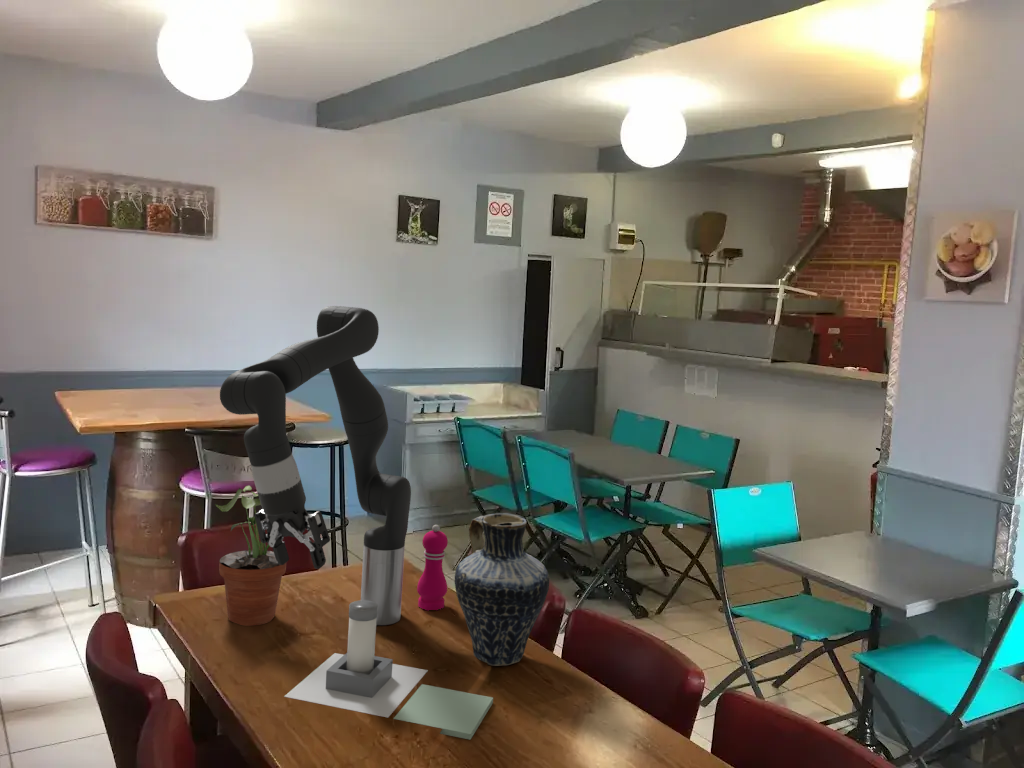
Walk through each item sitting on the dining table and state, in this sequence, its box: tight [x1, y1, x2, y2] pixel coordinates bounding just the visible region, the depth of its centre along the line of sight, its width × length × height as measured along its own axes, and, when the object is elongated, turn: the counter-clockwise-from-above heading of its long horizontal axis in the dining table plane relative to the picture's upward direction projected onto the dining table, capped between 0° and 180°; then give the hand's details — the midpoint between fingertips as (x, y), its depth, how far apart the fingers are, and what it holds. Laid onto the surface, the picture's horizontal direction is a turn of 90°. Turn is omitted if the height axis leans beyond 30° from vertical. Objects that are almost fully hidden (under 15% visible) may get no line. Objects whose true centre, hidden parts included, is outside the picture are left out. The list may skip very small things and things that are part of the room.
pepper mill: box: [416, 524, 449, 611], centre depth 200 cm, size 7×7×20 cm
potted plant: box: [215, 485, 287, 627], centre depth 186 cm, size 16×15×35 cm
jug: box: [454, 512, 550, 667], centre depth 173 cm, size 21×19×30 cm
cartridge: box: [346, 599, 378, 675], centre depth 157 cm, size 5×5×15 cm
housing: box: [283, 652, 429, 718], centre depth 157 cm, size 20×20×4 cm
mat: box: [393, 683, 494, 740], centre depth 150 cm, size 14×14×1 cm
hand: (301, 564), depth 150 cm, fingers open, 8 cm apart
